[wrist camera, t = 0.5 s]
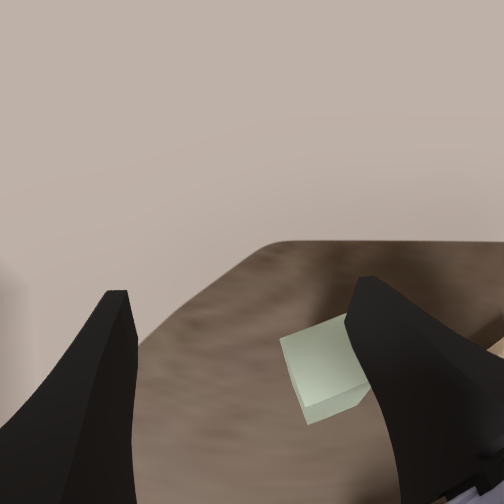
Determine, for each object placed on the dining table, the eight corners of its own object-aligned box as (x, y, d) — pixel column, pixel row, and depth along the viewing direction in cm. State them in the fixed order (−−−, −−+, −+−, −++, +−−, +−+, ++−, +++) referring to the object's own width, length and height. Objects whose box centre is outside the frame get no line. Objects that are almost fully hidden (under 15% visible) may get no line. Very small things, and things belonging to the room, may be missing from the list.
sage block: (357, 405, 24) (379, 376, 16) (307, 424, 23) (305, 407, 16) (338, 360, 26) (348, 312, 19) (290, 379, 26) (279, 338, 18)
